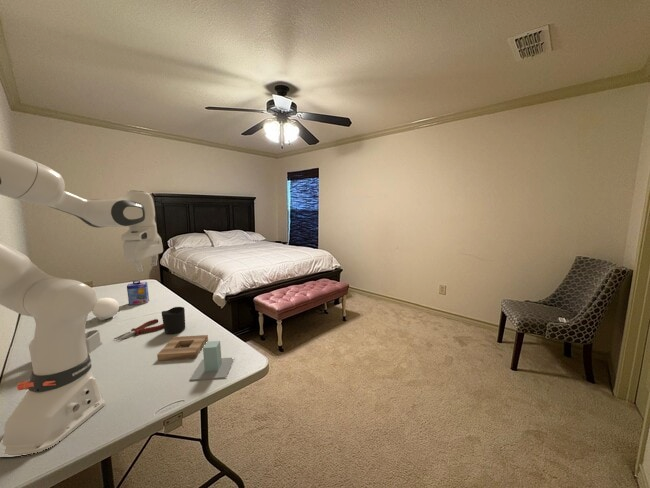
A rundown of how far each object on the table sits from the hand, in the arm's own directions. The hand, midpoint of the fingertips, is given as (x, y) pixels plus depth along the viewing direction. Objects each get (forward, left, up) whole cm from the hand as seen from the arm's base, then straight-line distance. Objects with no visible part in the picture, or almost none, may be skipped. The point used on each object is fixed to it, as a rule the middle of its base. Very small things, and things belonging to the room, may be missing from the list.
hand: (147, 268), depth 105 cm
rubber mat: (-17, -28, -34) cm, 47 cm away
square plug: (-17, -28, -34) cm, 47 cm away
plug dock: (-2, -12, -34) cm, 36 cm away
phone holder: (+3, +34, -34) cm, 48 cm away
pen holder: (+17, 0, -34) cm, 38 cm away
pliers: (+19, +16, -35) cm, 43 cm away
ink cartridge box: (+60, +40, -34) cm, 80 cm away
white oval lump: (+39, +45, -34) cm, 69 cm away
